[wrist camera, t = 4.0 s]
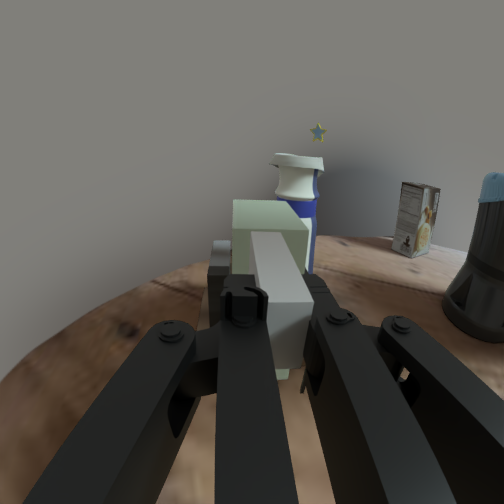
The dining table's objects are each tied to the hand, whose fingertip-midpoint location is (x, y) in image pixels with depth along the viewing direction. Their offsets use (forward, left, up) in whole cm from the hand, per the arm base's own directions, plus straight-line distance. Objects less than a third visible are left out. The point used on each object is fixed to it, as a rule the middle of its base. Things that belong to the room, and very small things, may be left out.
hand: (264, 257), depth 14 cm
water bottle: (-25, -18, -15) cm, 35 cm away
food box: (-56, -5, -15) cm, 58 cm away
